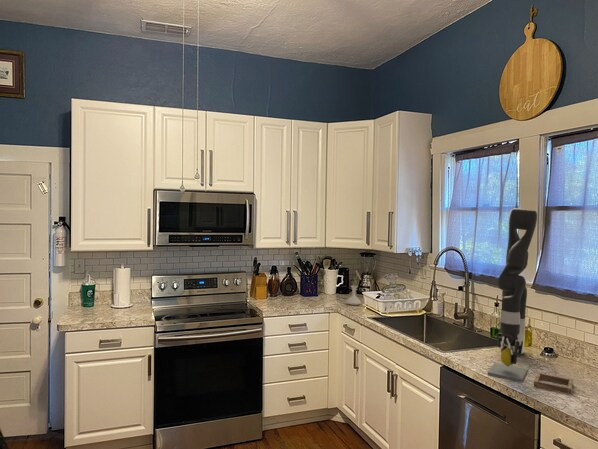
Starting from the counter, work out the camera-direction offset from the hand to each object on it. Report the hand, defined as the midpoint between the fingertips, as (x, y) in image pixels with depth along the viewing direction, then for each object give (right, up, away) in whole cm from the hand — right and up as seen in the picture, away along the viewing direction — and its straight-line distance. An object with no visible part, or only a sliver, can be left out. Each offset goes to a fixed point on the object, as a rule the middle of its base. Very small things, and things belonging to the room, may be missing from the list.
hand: (508, 361), depth 185 cm
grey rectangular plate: (0, -5, 0) cm, 5 cm away
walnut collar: (+11, -6, -13) cm, 18 cm away
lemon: (0, -2, 0) cm, 3 cm away
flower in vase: (-48, -2, +139) cm, 147 cm away
